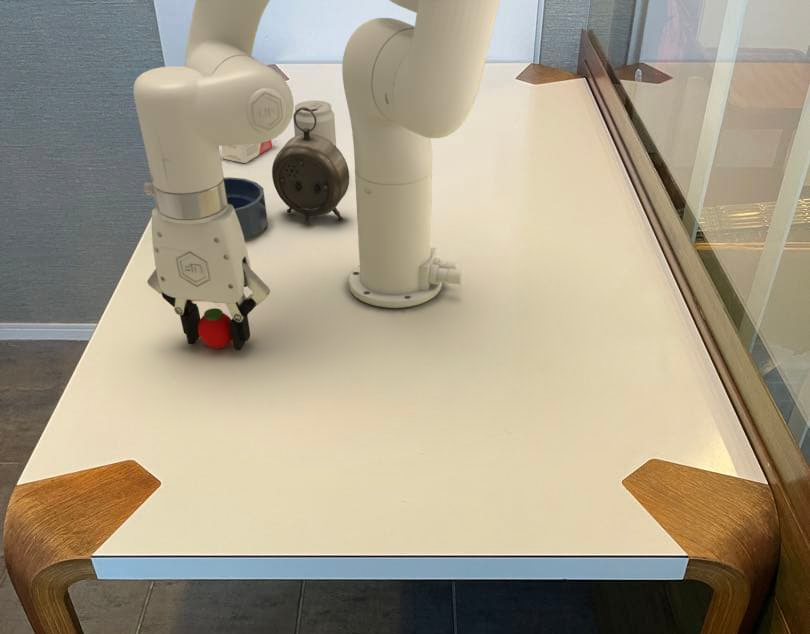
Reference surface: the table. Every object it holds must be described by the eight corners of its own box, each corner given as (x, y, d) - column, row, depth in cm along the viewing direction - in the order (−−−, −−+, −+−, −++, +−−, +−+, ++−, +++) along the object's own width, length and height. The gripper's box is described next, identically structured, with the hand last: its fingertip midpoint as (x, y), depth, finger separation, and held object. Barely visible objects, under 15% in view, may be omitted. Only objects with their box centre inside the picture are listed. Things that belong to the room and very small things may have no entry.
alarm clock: (352, 216, 131) (346, 104, 120) (340, 232, 128) (333, 117, 116) (286, 208, 134) (274, 97, 122) (273, 223, 130) (259, 110, 119)
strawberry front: (242, 337, 107) (237, 305, 104) (229, 356, 104) (223, 324, 101) (209, 334, 108) (203, 301, 105) (195, 352, 105) (188, 320, 102)
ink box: (250, 142, 153) (241, 70, 145) (273, 147, 152) (265, 74, 143) (222, 159, 148) (210, 85, 140) (245, 164, 146) (235, 89, 138)
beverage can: (292, 187, 139) (284, 109, 131) (313, 173, 143) (306, 96, 135) (325, 194, 137) (319, 115, 129) (345, 180, 141) (341, 102, 133)
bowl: (278, 213, 133) (274, 181, 129) (251, 249, 124) (246, 216, 121) (205, 206, 135) (199, 174, 131) (173, 241, 126) (166, 208, 123)
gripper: (103, 204, 92) (141, 350, 105) (254, 218, 89) (274, 366, 102) (134, 176, 97) (166, 318, 110) (277, 189, 94) (294, 333, 107)
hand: (218, 340), depth 106 cm, fingers open, 5 cm apart
